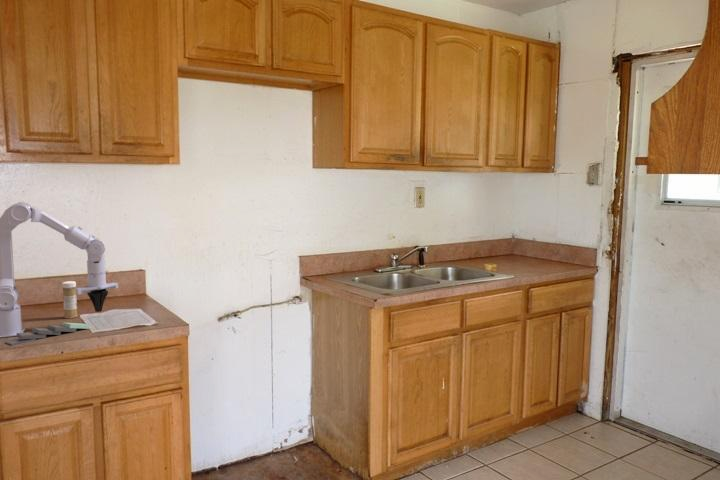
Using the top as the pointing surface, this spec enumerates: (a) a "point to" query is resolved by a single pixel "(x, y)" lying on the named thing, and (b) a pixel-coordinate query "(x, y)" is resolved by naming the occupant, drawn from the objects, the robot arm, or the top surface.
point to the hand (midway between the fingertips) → (98, 311)
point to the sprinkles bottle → (69, 299)
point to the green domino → (76, 325)
